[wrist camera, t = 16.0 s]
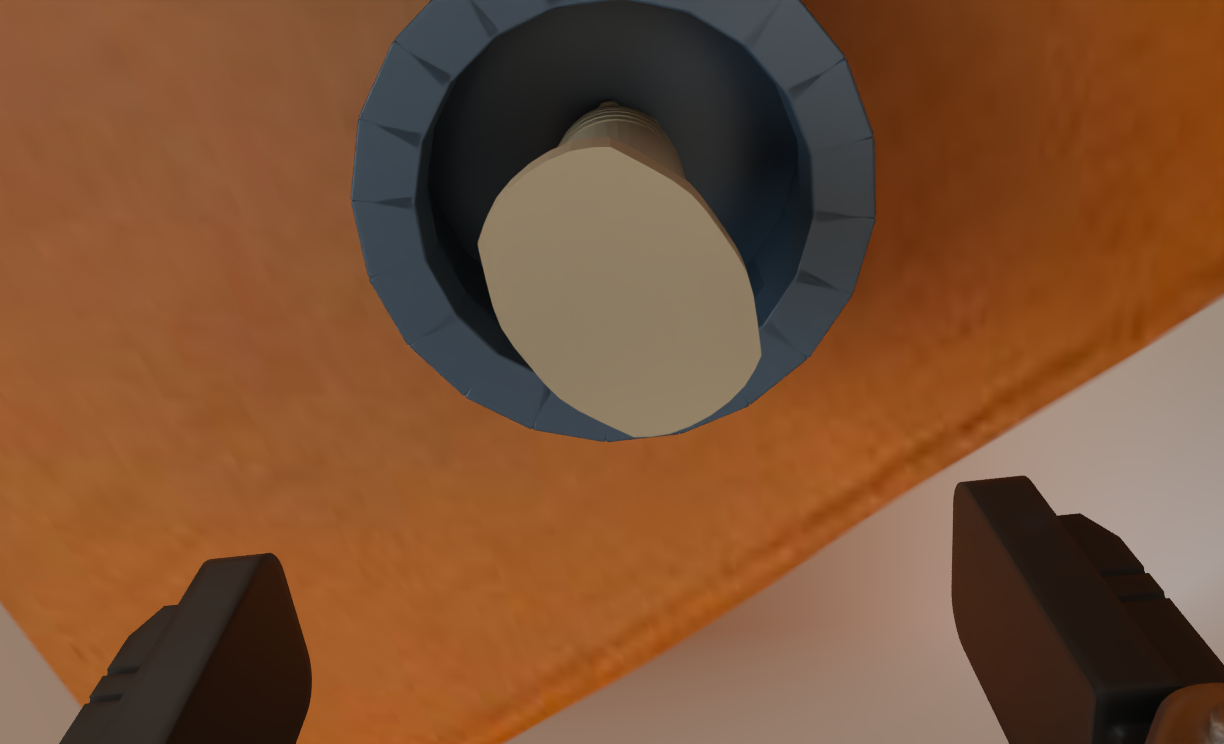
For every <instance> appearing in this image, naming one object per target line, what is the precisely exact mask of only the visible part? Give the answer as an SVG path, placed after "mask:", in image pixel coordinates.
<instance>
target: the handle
mask: <svg viewBox="0 0 1224 744" xmlns="http://www.w3.org/2000/svg"><path fill="white" fill-rule="evenodd" d="M478 248H479V253H480V257H481V261H482V266H483V270H484V274H485V279H486V283H487V286H488V290H489V294H490V298H491V302H492V305H493V308H494V311H495V313H496V316H497V319H498V321H499V324H500V326H501V328H502V330H503V331H504V333H505V334H506V336H507V337H508V339H509V340H510V342H511V343H512V345H513V346H514V348H515V349H516V350H517V351H518V353H519V354H520V355H521V356H522V357H523V359H524V360H525V361H526V362H527V363H528V365H529V366H530V367H531V368H532V369H533V371H534V372H535V373H536V374H537V375H538V377H539V378H540V379H541V380H542V381H543V383H544V384H545V385H546V386H547V387H548V388H549V389H550V390H551V391H552V392H553V393H555V394H556V395H557V396H558V397H559V398H560V399H561V400H563V401H564V402H566V403H567V404H569V405H570V406H572V407H574V408H575V409H577V410H578V411H580V412H582V413H584V414H586V415H588V416H590V417H592V418H594V419H596V420H598V421H600V422H602V423H604V424H606V425H609V426H611V427H613V428H615V429H617V430H619V431H621V432H624V433H626V434H628V435H630V436H632V437H653V436H659V435H665V434H671V433H673V432H676V431H679V430H682V429H684V428H687V427H690V426H692V425H694V424H696V423H698V422H699V421H701V420H703V419H705V418H707V417H709V416H711V415H712V414H713V413H715V412H716V411H717V410H719V409H720V408H721V407H723V406H724V405H725V404H727V403H728V402H729V401H730V400H731V399H732V398H733V397H734V396H735V395H736V394H737V393H738V392H739V391H740V390H741V389H742V388H743V387H744V386H745V385H746V383H747V381H748V380H749V378H750V377H751V375H752V374H753V372H754V370H755V368H756V366H757V364H758V362H759V360H760V357H761V347H760V338H759V330H758V322H757V315H756V309H755V302H754V295H753V292H752V288H751V285H750V281H749V278H748V274H747V270H746V267H745V264H744V262H743V259H742V257H741V255H740V253H739V251H738V249H737V247H736V246H735V244H734V242H733V241H732V239H731V238H730V236H729V235H728V233H727V232H726V230H725V229H724V227H723V226H722V224H721V223H720V221H719V220H718V218H717V217H716V216H715V214H714V213H713V211H712V210H711V209H710V207H709V206H708V205H707V203H706V202H705V200H704V199H703V198H702V196H701V195H700V194H699V193H698V192H697V190H696V189H695V188H694V187H693V186H692V185H691V184H690V183H689V182H688V181H686V178H685V174H684V170H683V167H682V164H681V161H680V159H679V156H678V154H677V151H676V149H675V147H674V146H673V144H672V142H671V141H670V139H669V137H668V136H667V134H666V133H665V131H664V130H663V129H662V128H661V126H660V124H659V123H658V122H657V121H656V120H655V119H654V117H652V116H651V115H649V114H645V113H643V112H642V111H639V110H637V109H635V108H631V107H627V106H620V105H619V104H618V103H617V102H616V101H614V100H609V101H604V102H601V103H600V105H599V107H598V108H597V109H594V110H592V111H590V112H588V113H586V114H585V115H583V116H582V117H581V118H579V119H578V120H577V121H576V122H575V123H573V124H572V126H571V127H570V128H569V129H568V131H567V132H566V133H565V135H564V137H563V138H562V140H561V142H560V144H559V145H558V147H557V148H555V149H552V150H550V151H549V152H547V153H545V154H544V155H542V156H540V157H539V158H537V159H536V160H534V161H532V162H531V163H530V164H528V165H527V166H526V167H525V168H524V169H523V170H522V171H520V172H519V173H518V174H517V175H516V176H515V177H514V178H512V179H511V180H510V182H509V183H508V184H507V185H506V187H505V188H504V189H503V190H502V191H501V193H500V194H499V195H498V196H497V198H496V200H495V202H494V204H493V206H492V208H491V210H490V212H489V214H488V216H487V218H486V220H485V223H484V225H483V228H482V231H481V234H480V237H479V241H478Z"/></svg>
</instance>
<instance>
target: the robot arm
mask: <svg viewBox="0 0 1224 744" xmlns="http://www.w3.org/2000/svg"><path fill="white" fill-rule="evenodd" d="M952 546H953V547H952V606H953V613H954V618H955V624H956V628H957V632H958V635H959V639H960V641H961V644H962V646H963V649H964V651H965V653H966V655H967V657H968V659H969V661H970V663H971V665H972V667H973V670H974V671H975V674H976V676H977V678H978V680H979V681H980V684H981V686H982V688H983V690H984V692H985V694H986V696H987V698H988V701H989V702H990V704H991V706H992V709H993V711H994V713H995V715H996V717H997V719H998V721H999V723H1000V725H1001V727H1002V729H1003V732H1004V734H1005V736H1006V738H1007V740H1008V742H1009V744H1224V665H1223V663H1222V662H1221V661H1220V660H1219V659H1218V657H1217V656H1216V655H1215V654H1214V652H1213V651H1212V650H1211V649H1210V647H1209V646H1208V645H1207V644H1206V643H1205V641H1204V640H1203V639H1202V638H1201V636H1200V635H1199V634H1198V633H1197V631H1196V630H1195V629H1194V628H1193V627H1192V625H1191V624H1190V623H1189V622H1188V621H1187V619H1186V618H1185V617H1184V615H1182V613H1181V612H1180V611H1179V609H1178V608H1177V607H1176V606H1175V605H1174V603H1173V602H1172V601H1171V600H1170V598H1165V596H1164V591H1163V590H1162V589H1161V587H1160V586H1159V585H1158V584H1157V582H1156V581H1155V580H1154V579H1153V577H1152V576H1151V575H1150V574H1149V573H1145V571H1144V567H1143V565H1142V564H1141V563H1140V562H1139V560H1138V559H1137V558H1136V557H1135V556H1134V554H1133V553H1132V552H1131V551H1130V549H1129V548H1128V547H1127V546H1126V544H1125V543H1124V542H1123V541H1122V540H1121V538H1120V537H1119V536H1117V535H1115V534H1114V533H1111V532H1110V531H1108V530H1107V529H1105V528H1103V527H1102V526H1100V525H1099V524H1097V523H1095V522H1094V521H1092V520H1090V519H1088V518H1087V517H1085V516H1084V515H1082V514H1080V513H1079V514H1069V515H1061V516H1057V515H1056V514H1055V513H1054V511H1053V510H1052V509H1051V507H1050V506H1049V505H1048V503H1047V502H1046V500H1045V499H1044V498H1043V496H1042V495H1041V494H1040V492H1039V491H1038V490H1037V488H1036V487H1035V485H1034V484H1033V483H1032V482H1031V480H1030V479H1029V478H1027V477H1026V476H1014V477H1006V478H995V479H986V480H976V481H967V482H960V483H958V484H957V486H956V488H955V492H954V502H953V545H952ZM107 670H108V674H107V676H103V677H102V678H101V680H100V681H99V683H98V684H97V686H96V688H95V689H94V691H93V692H92V694H91V695H90V703H88V704H85V705H84V706H83V708H82V709H81V711H80V712H79V714H78V715H77V717H76V719H75V720H74V722H73V723H72V725H71V726H70V728H69V729H68V731H67V732H66V734H65V736H64V737H63V739H62V740H61V742H60V743H59V744H296V741H297V739H298V736H299V733H300V730H301V728H302V725H303V722H304V719H305V717H306V714H307V711H308V708H309V704H310V698H311V689H312V673H311V664H310V658H309V654H308V650H307V647H306V644H305V640H304V637H303V634H302V630H301V627H300V624H299V620H298V617H297V614H296V610H295V607H294V604H293V600H292V597H291V594H290V590H289V587H288V584H287V580H286V577H285V574H284V571H283V568H282V565H281V563H280V561H279V560H278V558H277V557H276V556H275V555H274V554H272V553H265V554H256V555H246V556H237V557H227V558H218V559H210V560H207V561H206V562H205V563H204V564H203V565H202V566H201V568H200V569H199V571H198V573H197V574H196V576H195V578H194V579H193V581H192V582H191V584H190V586H189V587H188V589H187V591H186V592H185V594H184V596H183V597H182V599H181V601H180V602H179V604H178V605H171V606H164V607H163V608H162V609H160V610H159V611H158V612H157V613H156V614H155V615H153V616H152V617H151V618H150V619H149V620H147V621H146V622H145V623H144V624H143V625H142V626H140V627H139V628H138V629H137V630H136V631H135V632H133V633H132V634H131V635H130V636H129V637H128V638H127V640H126V641H125V643H124V644H123V646H122V647H121V649H120V651H119V652H118V654H117V655H116V657H115V658H114V660H113V661H112V663H111V664H110V666H109V668H108V669H107Z"/></svg>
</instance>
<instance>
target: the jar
mask: <svg viewBox="0 0 1224 744" xmlns="http://www.w3.org/2000/svg"><path fill="white" fill-rule="evenodd" d="M609 100H614V101H616V102H617V103H618V104H619V105H620V106H627V107H631V108H635V109H637V110H639V111H642V112H643V113H645V114H649V115H651V116H652V117H654V119H655V120H656V121H657V122H658V123H659V124H660V126H661V128H662V129H663V130H664V131H665V133H666V134H667V136H668V137H669V139H670V141H671V142H672V144H673V146H674V147H675V149H676V151H677V154H678V156H679V159H680V161H681V164H682V167H683V170H684V174H685V178H686V181H688V182H689V183H690V184H691V185H692V186H693V187H694V188H695V189H696V190H697V192H698V193H699V194H700V195H701V196H702V198H703V199H704V200H705V202H706V203H707V205H708V206H709V207H710V209H711V210H712V211H713V213H714V214H715V216H716V217H717V218H718V220H719V221H720V223H721V224H722V226H723V227H724V229H725V230H726V232H727V233H728V235H729V236H730V238H731V239H732V241H733V242H734V244H735V246H736V247H737V249H738V251H739V253H740V255H741V257H742V259H743V262H744V264H745V267H746V270H747V274H748V278H749V281H750V285H751V288H752V292H753V295H754V302H755V309H756V315H757V322H758V330H759V338H760V347H761V357H760V360H759V362H758V364H757V366H756V368H755V370H754V372H753V374H752V375H751V377H750V378H749V380H748V381H747V383H746V385H745V386H744V387H743V388H742V389H741V390H740V391H739V392H738V393H737V394H736V395H735V396H734V397H733V398H732V399H731V400H730V401H729V402H728V403H727V404H725V405H724V406H723V407H721V408H720V409H719V410H717V411H716V412H715V413H713V414H712V415H711V416H709V417H707V418H705V419H703V420H701V421H699V422H698V423H696V424H694V425H692V426H690V427H687V428H684V429H682V430H679V431H676V432H673V433H671V434H665V435H659V436H667V435H676V434H679V433H680V434H682V433H684V432H687V431H689V430H692V429H694V428H697V427H699V426H701V425H704V424H706V423H709V422H711V421H714V420H716V419H718V418H721V417H723V416H726V415H728V414H731V413H733V412H735V411H738V410H740V409H743V408H745V407H748V406H749V404H752V403H753V402H754V401H755V400H757V399H758V398H759V397H760V396H762V395H763V394H764V393H765V392H767V391H768V390H769V389H770V388H772V387H773V386H774V385H775V384H777V383H778V382H779V381H780V380H782V379H783V378H784V377H785V376H787V375H788V374H789V373H790V372H792V371H793V370H794V369H795V368H797V367H798V366H799V365H800V364H802V363H803V362H804V361H805V360H806V359H807V357H810V356H811V355H812V353H813V352H814V350H815V349H816V347H817V346H818V344H819V343H820V341H821V340H822V339H823V337H824V336H825V334H826V333H827V331H828V330H829V328H830V327H831V325H832V324H833V323H834V321H835V320H836V318H837V317H838V315H839V314H840V312H841V311H842V309H843V308H844V307H845V305H846V304H847V302H848V301H849V299H850V298H851V296H852V294H853V292H854V289H855V286H856V283H857V279H858V276H859V273H860V270H861V266H862V263H863V260H864V257H865V253H866V250H867V247H868V244H869V240H870V237H871V234H872V231H873V227H874V224H875V221H876V219H875V218H874V217H875V215H876V196H875V141H874V138H873V137H872V136H873V131H872V128H871V125H870V122H869V120H868V117H867V114H866V111H865V108H864V106H863V103H862V100H861V97H860V94H859V92H858V89H857V86H856V83H855V80H854V78H853V75H852V72H851V69H850V67H849V64H848V61H847V59H846V58H845V55H844V54H843V52H842V51H841V50H840V49H839V47H838V46H837V45H836V44H835V42H834V41H833V40H832V39H831V37H830V36H829V35H828V34H827V32H826V31H825V30H824V29H823V27H822V26H821V25H820V24H819V23H818V21H817V20H816V19H815V18H814V16H813V15H812V14H811V13H810V11H809V10H808V9H807V8H806V6H805V5H804V4H803V3H802V1H801V0H431V1H430V2H429V3H428V4H427V5H426V6H425V7H424V8H423V9H422V11H421V12H420V13H419V14H418V15H417V16H416V17H415V18H414V19H413V20H412V21H411V22H410V23H409V24H408V25H407V26H406V27H405V28H404V30H403V31H402V32H401V33H400V34H399V35H398V36H397V37H396V38H395V41H393V42H392V44H391V47H390V49H389V51H388V53H387V55H386V58H385V60H384V62H383V64H382V67H381V69H380V71H379V73H378V75H377V78H376V80H375V82H374V84H373V86H372V89H371V91H370V93H369V95H368V98H367V100H366V102H365V104H364V106H363V109H362V111H361V113H360V115H359V120H358V127H357V137H356V148H355V158H354V169H353V179H352V190H351V200H352V203H351V204H352V208H353V212H354V217H355V221H356V226H357V230H358V234H359V239H360V243H361V248H362V252H363V256H364V261H365V265H366V269H367V274H368V276H369V277H370V278H369V281H370V282H371V284H372V286H373V287H374V289H375V291H376V292H377V294H378V296H379V298H380V299H381V301H382V303H383V304H384V306H385V308H386V309H387V311H388V313H389V314H390V316H391V318H392V320H393V321H394V323H395V325H396V326H397V328H398V330H399V331H400V333H401V335H402V336H403V338H404V340H405V342H406V343H407V345H410V347H411V348H412V349H413V350H414V351H415V352H416V353H417V354H418V355H420V356H421V357H422V358H423V359H424V360H425V361H426V362H427V363H428V364H429V365H430V366H432V367H433V368H434V369H435V370H436V371H437V372H438V373H439V374H440V375H441V376H443V377H444V378H445V379H446V380H447V381H448V382H449V383H450V384H451V385H452V386H453V387H455V388H456V389H457V390H458V391H459V392H460V393H461V394H462V395H465V397H466V398H468V399H470V400H472V401H474V402H476V403H478V404H480V405H482V406H484V407H486V408H488V409H490V410H492V411H494V412H497V413H499V414H501V415H503V416H505V417H507V418H509V419H511V420H513V421H515V422H517V423H519V424H521V425H523V426H525V427H528V428H530V429H532V428H533V429H534V430H538V431H543V432H549V433H555V434H561V435H567V436H573V437H579V438H584V439H590V440H596V441H602V442H604V441H605V440H606V441H607V442H613V441H622V440H631V439H640V438H649V437H632V436H630V435H628V434H626V433H624V432H621V431H619V430H617V429H615V428H613V427H611V426H609V425H606V424H604V423H602V422H600V421H598V420H596V419H594V418H592V417H590V416H588V415H586V414H584V413H582V412H580V411H578V410H577V409H575V408H574V407H572V406H570V405H569V404H567V403H566V402H564V401H563V400H561V399H560V398H559V397H558V396H557V395H556V394H555V393H553V392H552V391H551V390H550V389H549V388H548V387H547V386H546V385H545V384H544V383H543V381H542V380H541V379H540V378H539V377H538V375H537V374H536V373H535V372H534V371H533V369H532V368H531V367H530V366H529V365H528V363H527V362H526V361H525V360H524V359H523V357H522V356H521V355H520V354H519V353H518V351H517V350H516V349H515V348H514V346H513V345H512V343H511V342H510V340H509V339H508V337H507V336H506V334H505V333H504V331H503V330H502V328H501V326H500V324H499V321H498V319H497V316H496V313H495V311H494V308H493V305H492V302H491V298H490V294H489V290H488V286H487V283H486V279H485V274H484V270H483V266H482V261H481V257H480V253H479V248H478V241H479V237H480V234H481V231H482V228H483V225H484V223H485V220H486V218H487V216H488V214H489V212H490V210H491V208H492V206H493V204H494V202H495V200H496V198H497V196H498V195H499V194H500V193H501V191H502V190H503V189H504V188H505V187H506V185H507V184H508V183H509V182H510V180H511V179H512V178H514V177H515V176H516V175H517V174H518V173H519V172H520V171H522V170H523V169H524V168H525V167H526V166H527V165H528V164H530V163H531V162H532V161H534V160H536V159H537V158H539V157H540V156H542V155H544V154H545V153H547V152H549V151H550V150H552V149H555V148H557V147H558V145H559V144H560V142H561V140H562V138H563V137H564V135H565V133H566V132H567V131H568V129H569V128H570V127H571V126H572V124H573V123H575V122H576V121H577V120H578V119H579V118H581V117H582V116H583V115H585V114H586V113H588V112H590V111H592V110H594V109H597V108H598V107H599V105H600V103H601V102H604V101H609ZM653 437H658V436H653Z"/></svg>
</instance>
